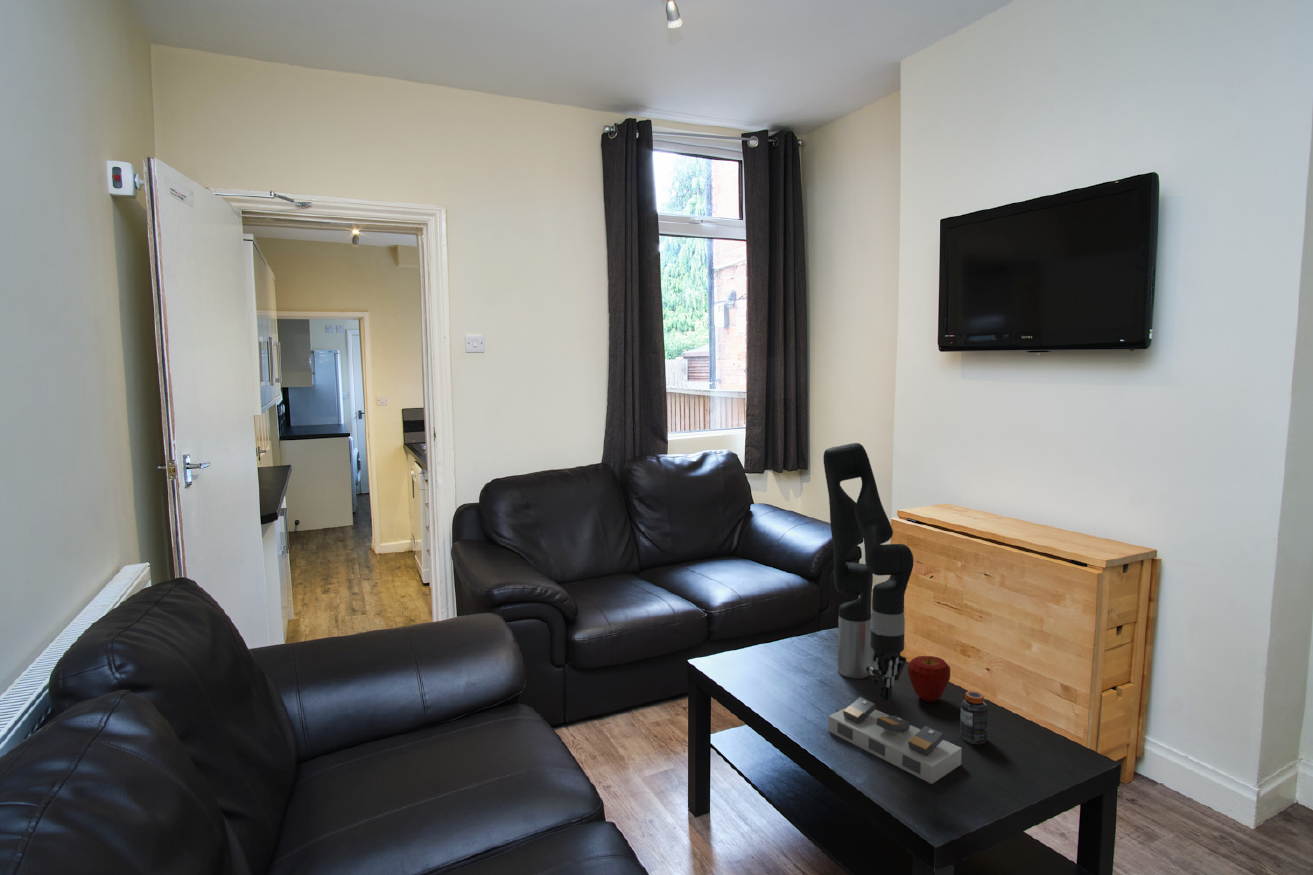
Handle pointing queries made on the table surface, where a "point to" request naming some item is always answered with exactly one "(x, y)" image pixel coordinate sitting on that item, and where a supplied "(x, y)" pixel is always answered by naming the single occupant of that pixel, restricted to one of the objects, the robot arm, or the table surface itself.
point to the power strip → (896, 746)
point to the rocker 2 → (893, 723)
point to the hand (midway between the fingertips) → (885, 700)
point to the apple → (929, 676)
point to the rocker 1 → (859, 710)
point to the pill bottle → (974, 718)
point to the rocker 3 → (926, 740)
